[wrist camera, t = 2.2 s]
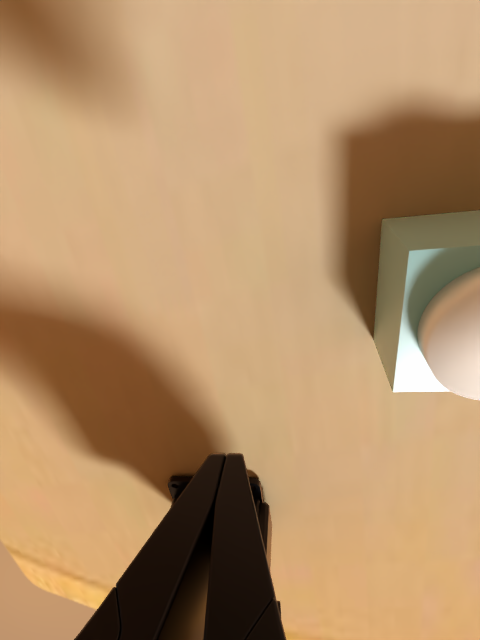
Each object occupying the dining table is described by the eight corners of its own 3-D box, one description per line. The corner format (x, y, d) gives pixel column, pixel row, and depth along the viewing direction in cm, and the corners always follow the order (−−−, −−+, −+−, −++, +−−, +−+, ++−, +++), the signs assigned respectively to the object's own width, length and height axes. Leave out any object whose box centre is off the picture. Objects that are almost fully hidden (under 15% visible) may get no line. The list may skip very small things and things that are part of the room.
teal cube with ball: (372, 337, 18) (400, 413, 13) (381, 217, 15) (420, 264, 10) (505, 332, 17) (582, 412, 12) (542, 203, 14) (662, 247, 9)
